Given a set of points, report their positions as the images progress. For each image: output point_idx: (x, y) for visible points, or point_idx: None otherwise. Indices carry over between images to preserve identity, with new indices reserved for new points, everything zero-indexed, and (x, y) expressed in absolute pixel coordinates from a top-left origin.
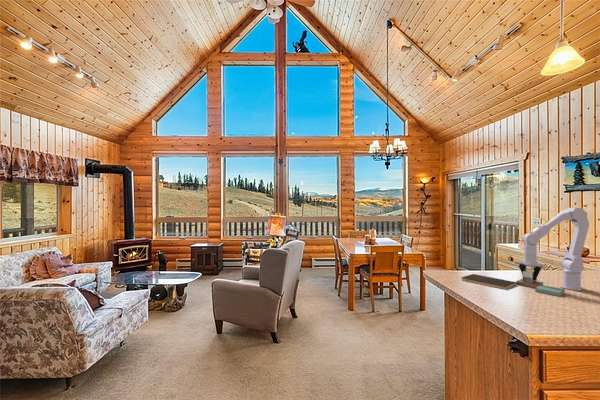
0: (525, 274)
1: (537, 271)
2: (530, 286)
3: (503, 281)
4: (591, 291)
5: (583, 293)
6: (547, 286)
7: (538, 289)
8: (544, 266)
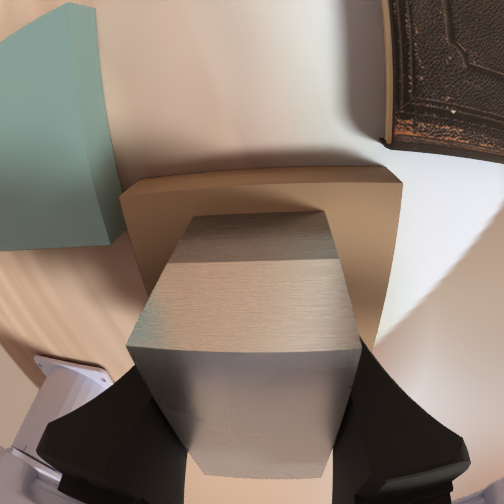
0: (289, 294)
1: (81, 409)
2: (211, 174)
3: (500, 42)
4: (38, 383)
5: (3, 322)
6: (51, 228)
7: (49, 16)
8: (2, 484)
